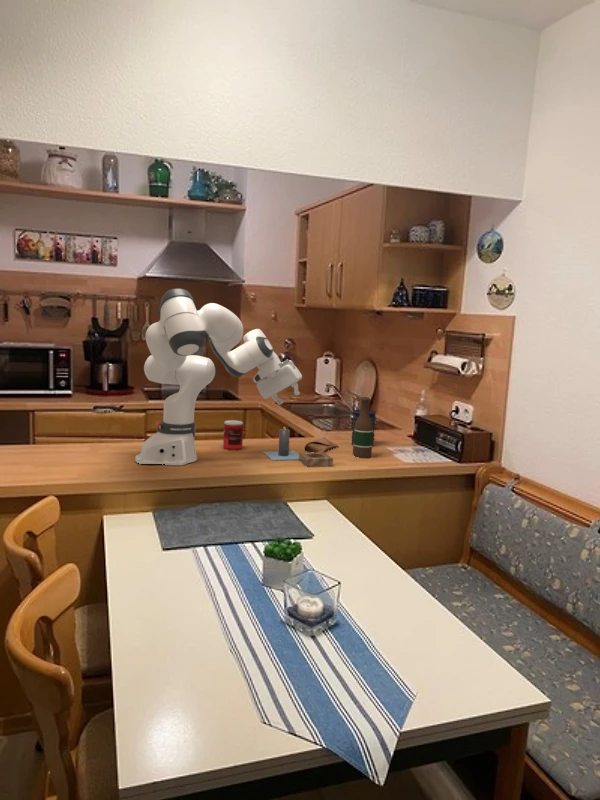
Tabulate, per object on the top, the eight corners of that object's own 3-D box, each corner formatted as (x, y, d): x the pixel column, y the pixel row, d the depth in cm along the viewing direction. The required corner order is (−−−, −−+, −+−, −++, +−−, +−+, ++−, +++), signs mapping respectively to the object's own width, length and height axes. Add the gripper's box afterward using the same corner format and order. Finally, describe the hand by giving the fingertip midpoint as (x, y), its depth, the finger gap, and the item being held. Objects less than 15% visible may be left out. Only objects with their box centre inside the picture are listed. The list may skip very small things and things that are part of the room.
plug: (279, 456, 238) (281, 428, 236) (277, 453, 242) (278, 426, 240) (289, 456, 239) (291, 427, 238) (286, 453, 243) (288, 425, 241)
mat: (271, 460, 232) (271, 459, 232) (263, 452, 245) (263, 451, 244) (304, 459, 236) (304, 458, 236) (294, 452, 249) (294, 450, 248)
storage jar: (377, 447, 266) (379, 413, 264) (357, 447, 262) (359, 413, 260) (367, 442, 275) (369, 409, 273) (347, 442, 272) (349, 409, 269)
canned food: (231, 445, 255) (232, 419, 254) (246, 448, 251) (247, 422, 249) (219, 448, 249) (219, 421, 247) (233, 451, 244) (234, 424, 243)
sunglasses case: (323, 454, 247) (316, 439, 248) (309, 460, 250) (302, 445, 251) (340, 446, 263) (333, 432, 264) (326, 452, 266) (320, 438, 267)
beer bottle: (368, 459, 242) (372, 399, 239) (350, 457, 245) (353, 397, 241) (373, 455, 249) (377, 397, 246) (355, 453, 252) (358, 395, 249)
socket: (307, 467, 225) (307, 459, 225) (298, 460, 235) (299, 452, 234) (332, 466, 228) (333, 458, 228) (323, 459, 238) (323, 452, 237)
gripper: (294, 355, 231) (312, 387, 231) (259, 376, 244) (276, 406, 244) (285, 360, 226) (303, 392, 226) (250, 381, 239) (267, 411, 239)
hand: (289, 399), depth 236 cm, fingers open, 8 cm apart
